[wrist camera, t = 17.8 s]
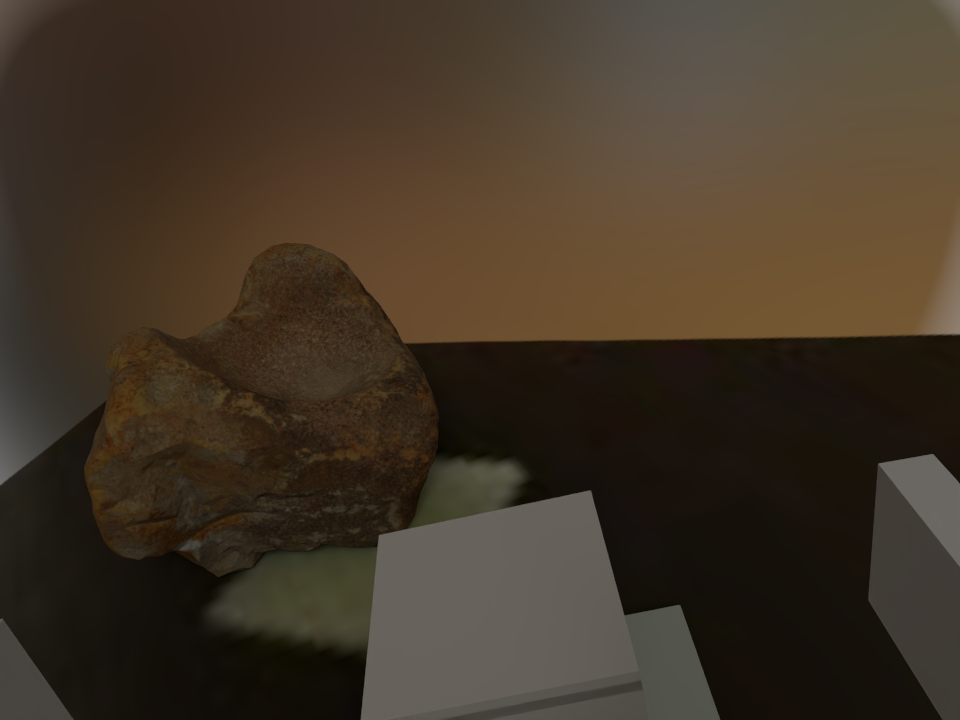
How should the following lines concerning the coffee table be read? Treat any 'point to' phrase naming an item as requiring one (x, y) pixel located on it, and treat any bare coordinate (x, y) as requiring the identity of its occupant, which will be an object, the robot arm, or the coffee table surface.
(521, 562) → the white box
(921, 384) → the coffee table surface
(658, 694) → the mat
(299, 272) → the rough brown rock
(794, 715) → the coffee table surface
